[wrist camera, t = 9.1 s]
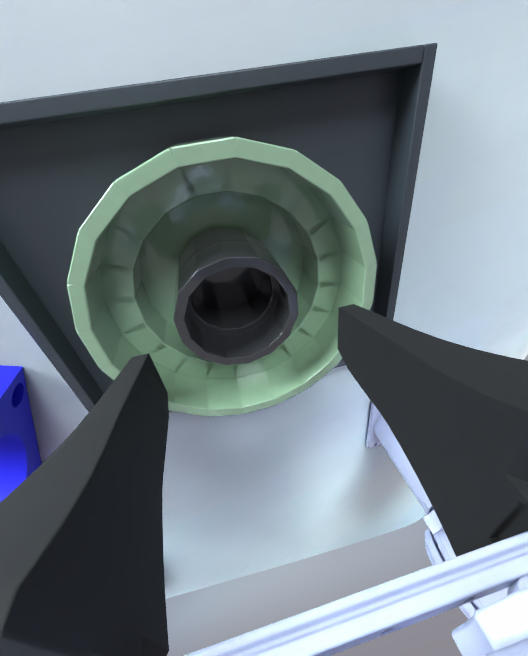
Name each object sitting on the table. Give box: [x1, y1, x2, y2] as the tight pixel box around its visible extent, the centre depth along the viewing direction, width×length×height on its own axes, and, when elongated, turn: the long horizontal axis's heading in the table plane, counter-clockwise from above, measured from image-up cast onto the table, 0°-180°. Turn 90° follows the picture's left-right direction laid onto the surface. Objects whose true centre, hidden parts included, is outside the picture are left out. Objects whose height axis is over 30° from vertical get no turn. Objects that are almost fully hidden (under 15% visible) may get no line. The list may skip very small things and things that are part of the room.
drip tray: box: [0, 43, 437, 412], centre depth 16 cm, size 21×17×2 cm
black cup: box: [173, 228, 298, 365], centre depth 15 cm, size 6×6×5 cm
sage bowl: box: [67, 137, 377, 417], centre depth 15 cm, size 13×13×6 cm
